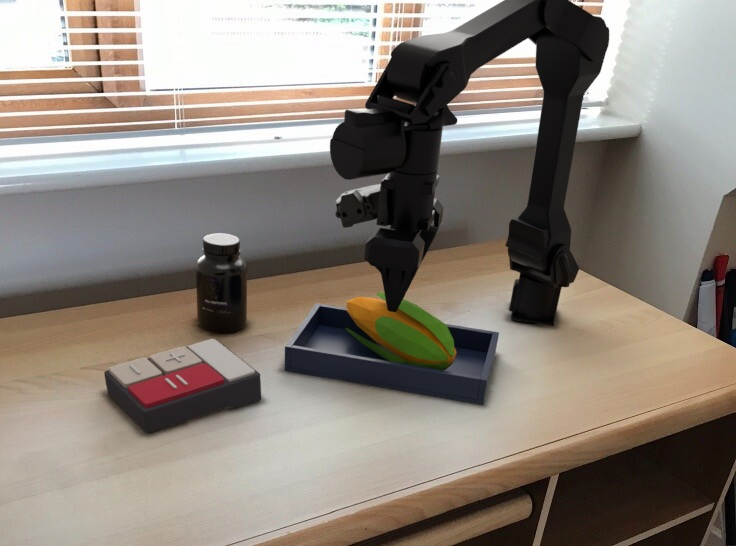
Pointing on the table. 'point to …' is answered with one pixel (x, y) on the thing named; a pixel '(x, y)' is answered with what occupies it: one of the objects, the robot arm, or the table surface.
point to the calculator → (182, 384)
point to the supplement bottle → (221, 285)
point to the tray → (364, 366)
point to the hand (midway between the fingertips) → (399, 297)
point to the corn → (403, 332)
